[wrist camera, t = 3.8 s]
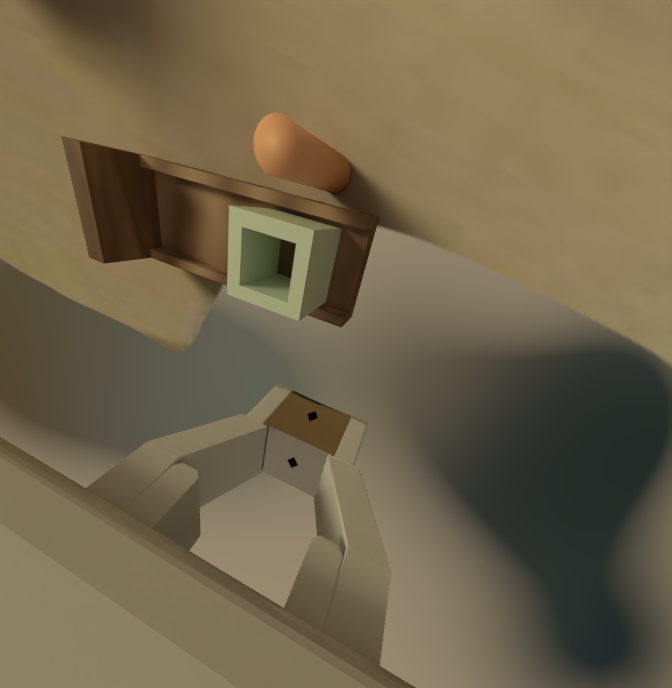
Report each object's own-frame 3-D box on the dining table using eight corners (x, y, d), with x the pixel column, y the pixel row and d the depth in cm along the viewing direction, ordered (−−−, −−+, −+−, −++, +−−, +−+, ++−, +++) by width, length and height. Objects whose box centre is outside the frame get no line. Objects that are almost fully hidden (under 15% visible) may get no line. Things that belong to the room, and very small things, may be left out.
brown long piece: (379, 217, 24) (352, 215, 17) (351, 316, 29) (321, 348, 21) (156, 157, 29) (61, 136, 22) (164, 250, 34) (89, 257, 27)
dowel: (354, 157, 23) (303, 118, 14) (346, 196, 24) (295, 181, 16) (323, 150, 23) (255, 108, 15) (316, 188, 25) (251, 170, 16)
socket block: (341, 228, 23) (314, 230, 18) (325, 301, 27) (298, 321, 21) (273, 208, 25) (229, 205, 19) (266, 281, 28) (226, 294, 23)
